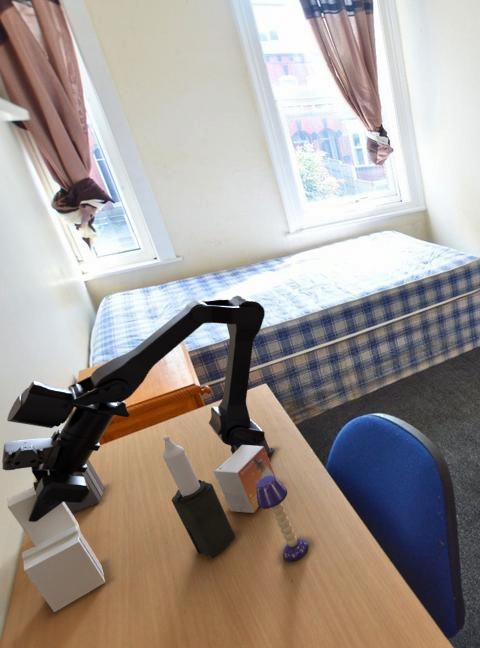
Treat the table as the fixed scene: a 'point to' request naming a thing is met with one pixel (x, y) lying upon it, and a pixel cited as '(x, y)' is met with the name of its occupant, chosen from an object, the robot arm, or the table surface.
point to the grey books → (94, 487)
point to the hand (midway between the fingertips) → (31, 516)
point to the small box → (243, 477)
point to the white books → (63, 568)
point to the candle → (197, 504)
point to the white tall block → (45, 526)
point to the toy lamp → (280, 515)
